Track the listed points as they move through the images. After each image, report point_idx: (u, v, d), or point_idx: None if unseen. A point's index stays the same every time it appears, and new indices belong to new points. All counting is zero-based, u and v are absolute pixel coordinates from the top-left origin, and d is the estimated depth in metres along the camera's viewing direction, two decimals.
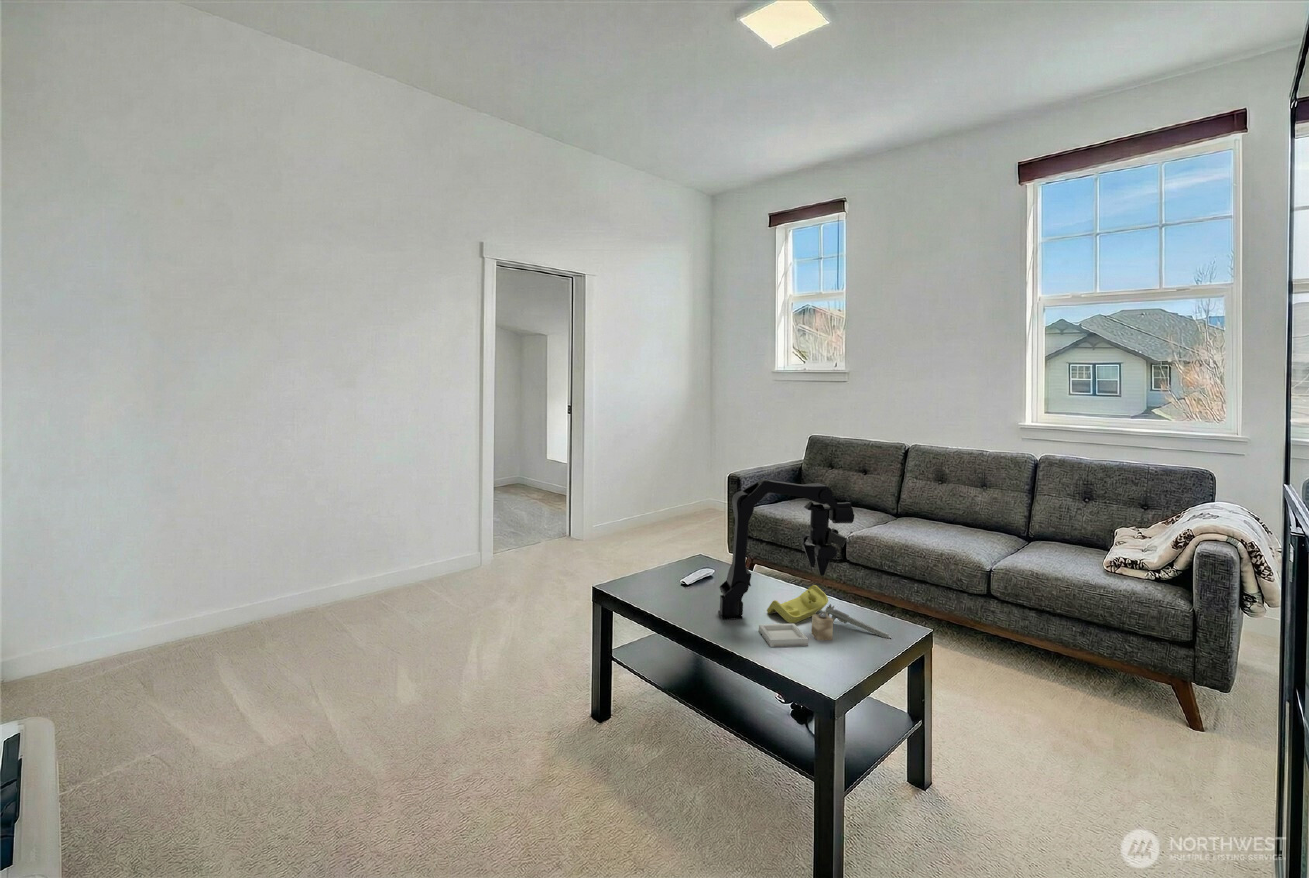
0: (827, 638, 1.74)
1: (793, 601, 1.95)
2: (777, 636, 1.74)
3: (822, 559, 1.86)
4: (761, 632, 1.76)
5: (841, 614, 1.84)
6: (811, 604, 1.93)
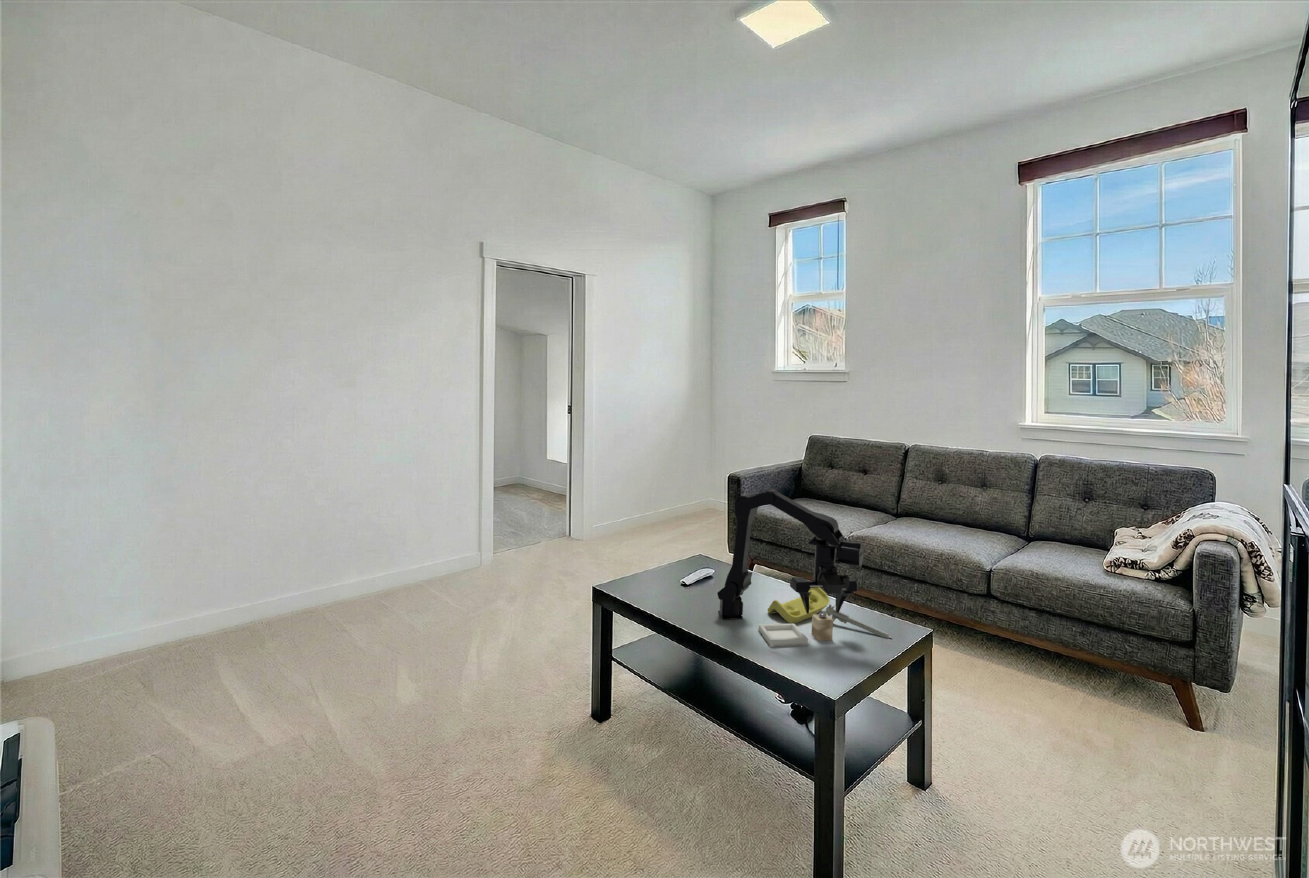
0: (827, 638, 1.74)
1: (794, 601, 1.94)
2: (777, 636, 1.74)
3: None
4: (761, 632, 1.76)
5: (841, 614, 1.84)
6: (812, 604, 1.93)
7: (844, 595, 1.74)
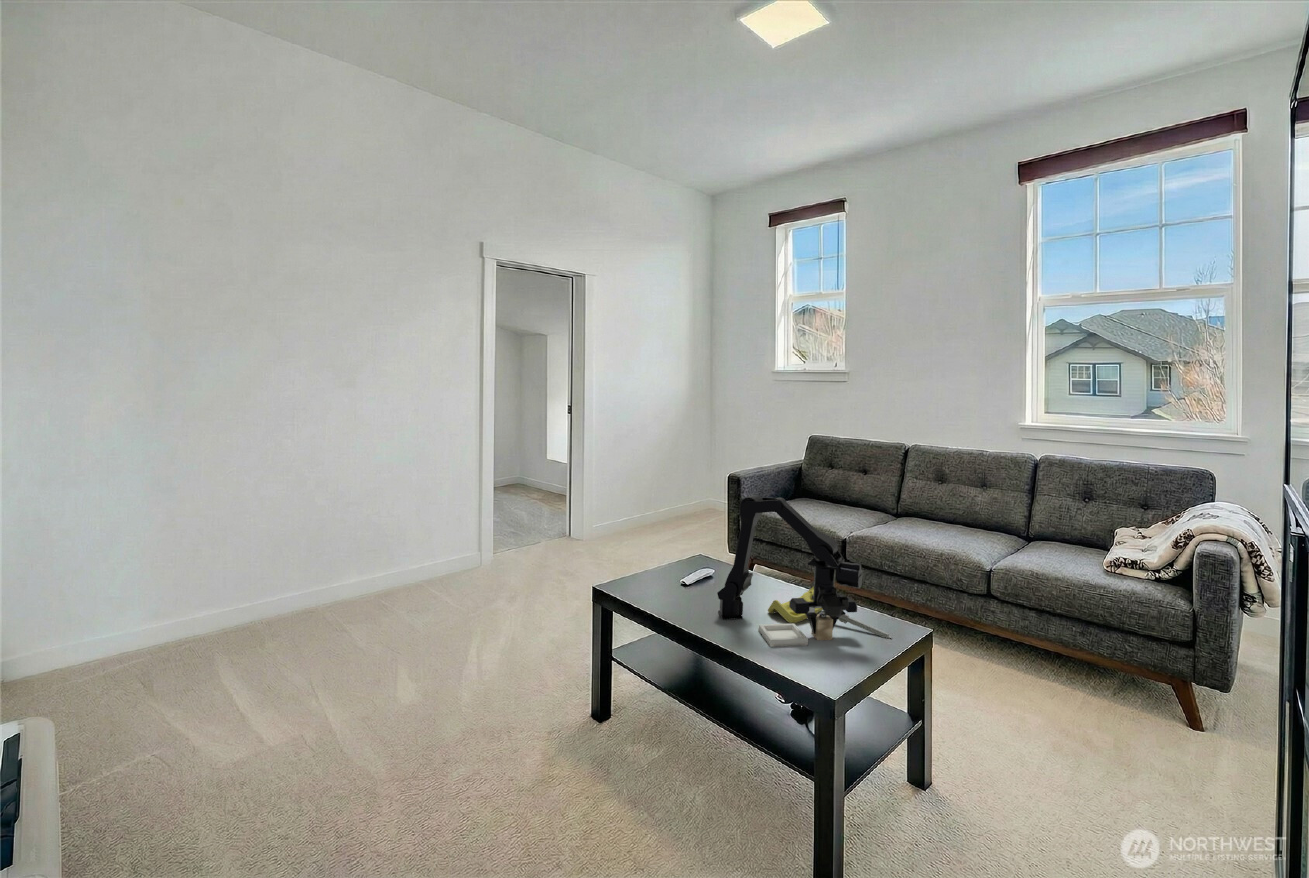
0: (827, 638, 1.74)
1: None
2: (777, 636, 1.74)
3: None
4: (761, 632, 1.76)
5: None
6: None
7: (836, 616, 1.74)
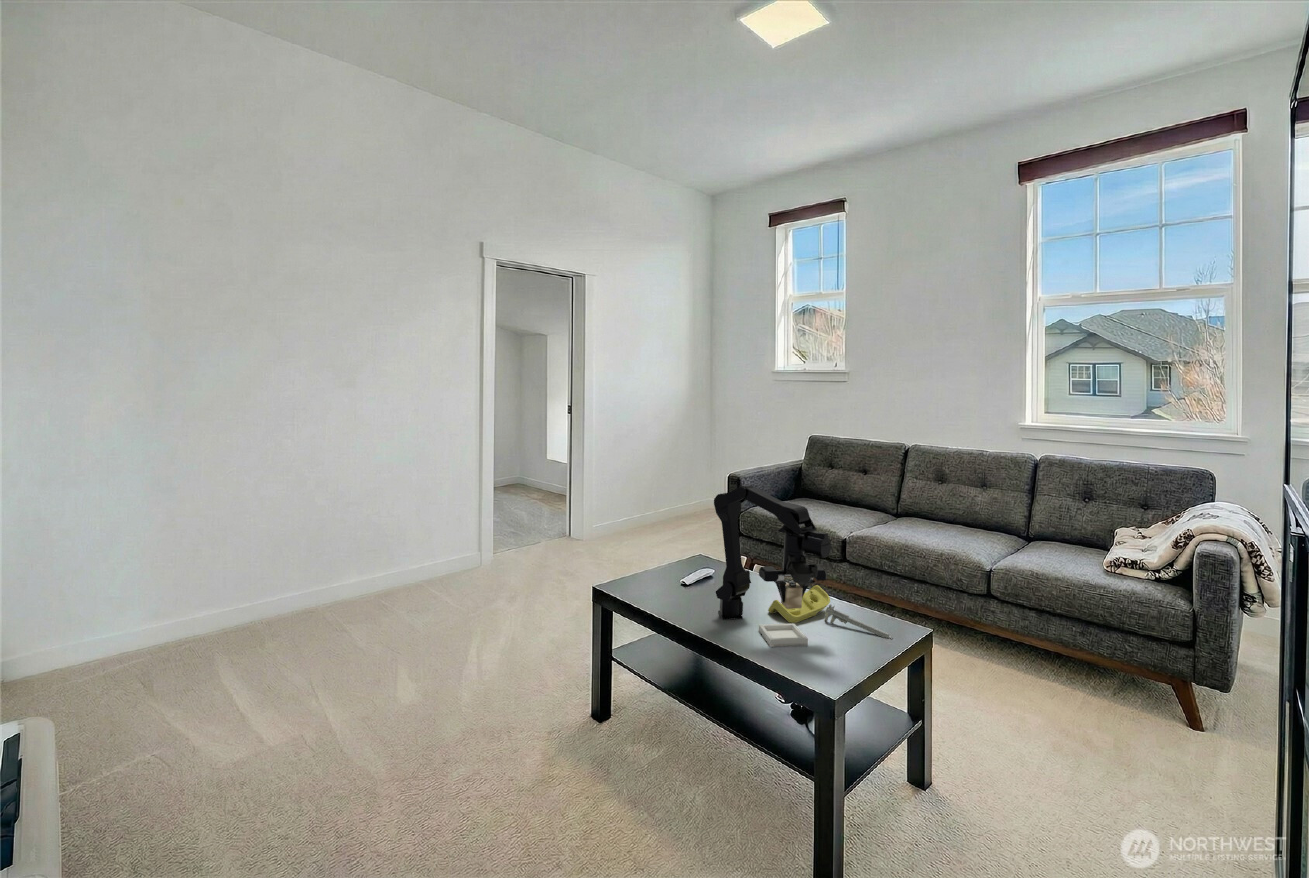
0: (796, 606, 1.72)
1: None
2: (777, 636, 1.74)
3: None
4: (761, 632, 1.76)
5: (841, 614, 1.84)
6: (813, 604, 1.93)
7: (806, 584, 1.72)
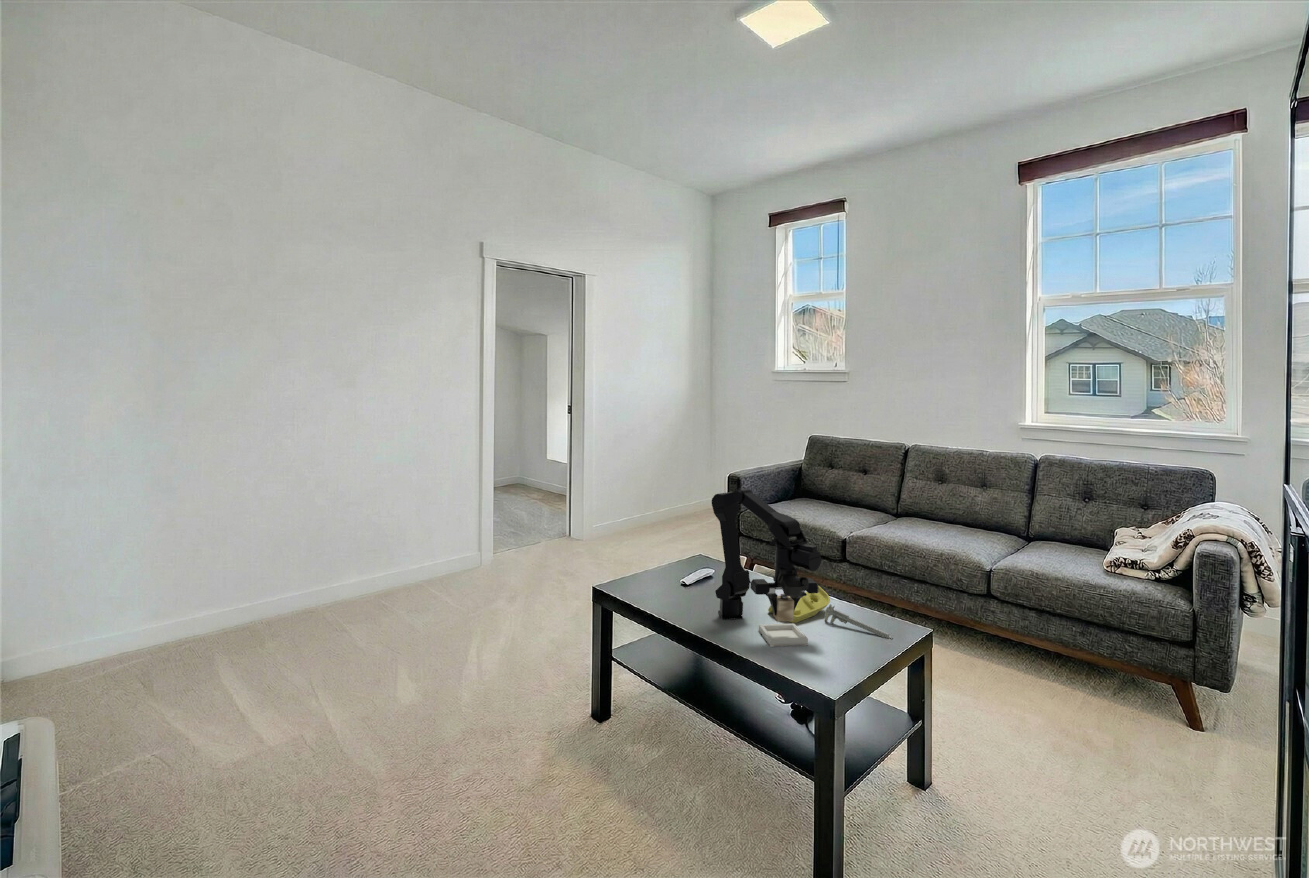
0: (788, 619, 1.72)
1: None
2: (777, 636, 1.74)
3: None
4: (761, 632, 1.76)
5: (841, 614, 1.84)
6: (813, 604, 1.93)
7: (797, 597, 1.72)
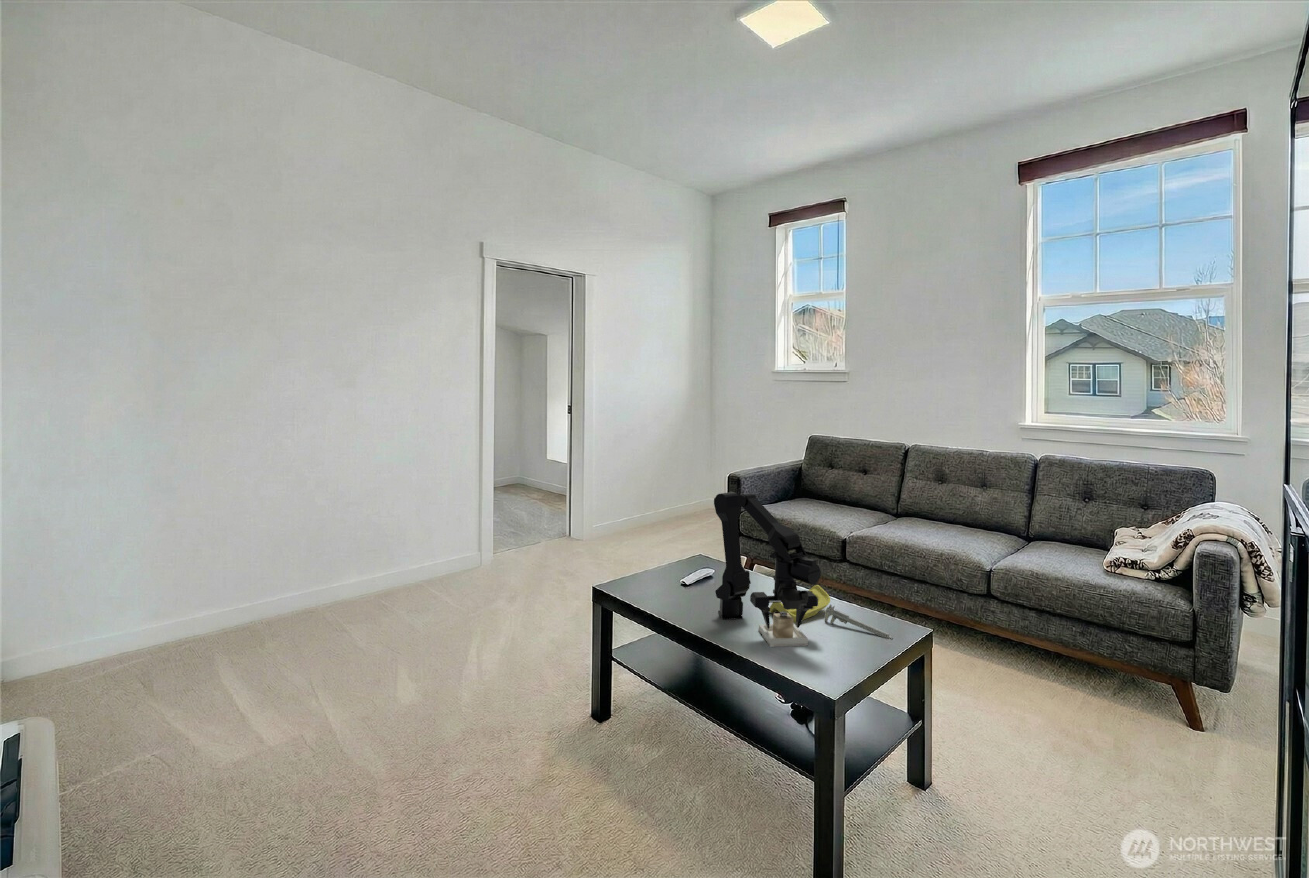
0: (787, 637, 1.72)
1: None
2: None
3: None
4: (761, 632, 1.76)
5: (841, 614, 1.84)
6: None
7: (804, 610, 1.72)
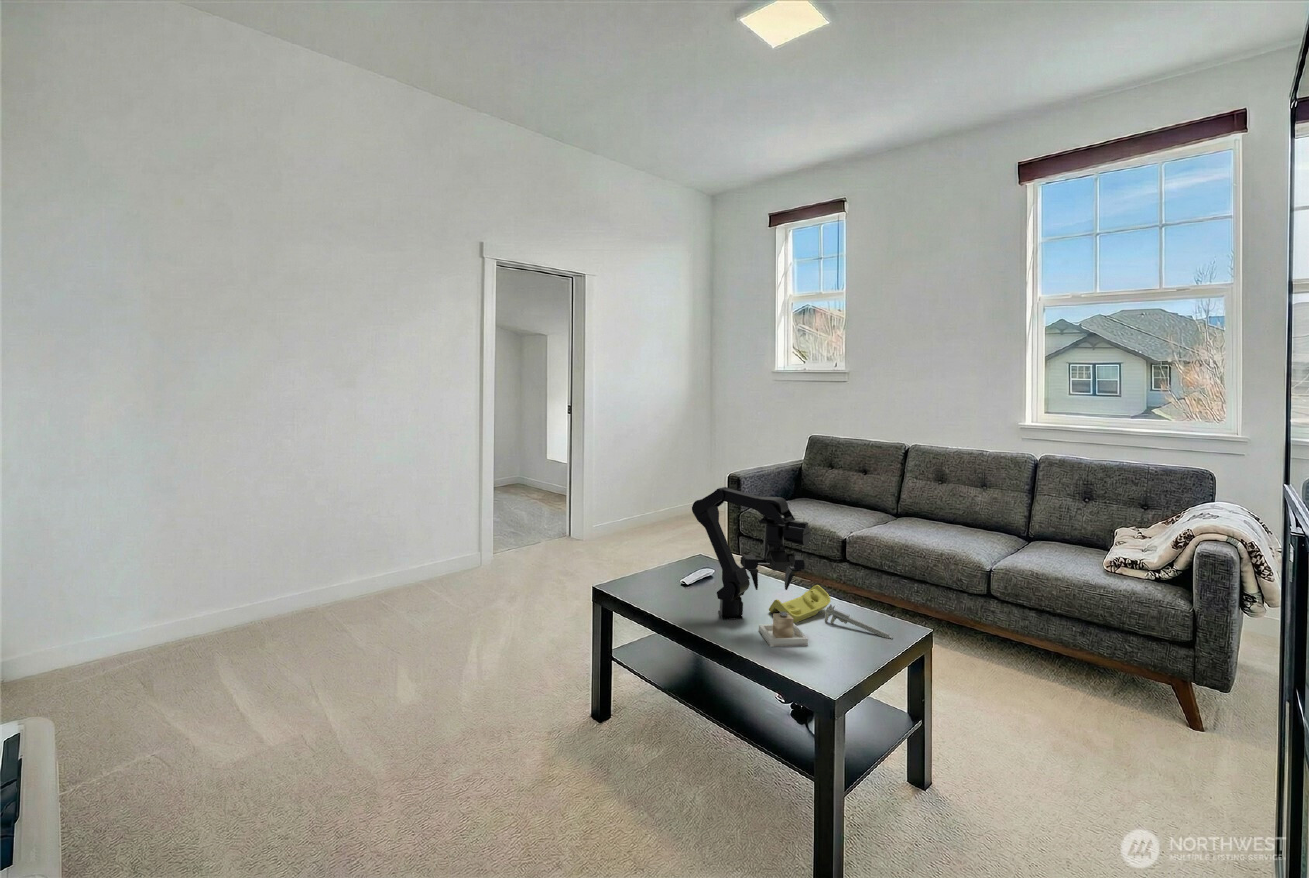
0: (787, 637, 1.72)
1: (795, 600, 1.95)
2: None
3: None
4: (761, 632, 1.76)
5: (842, 614, 1.84)
6: (813, 604, 1.94)
7: (792, 573, 1.80)
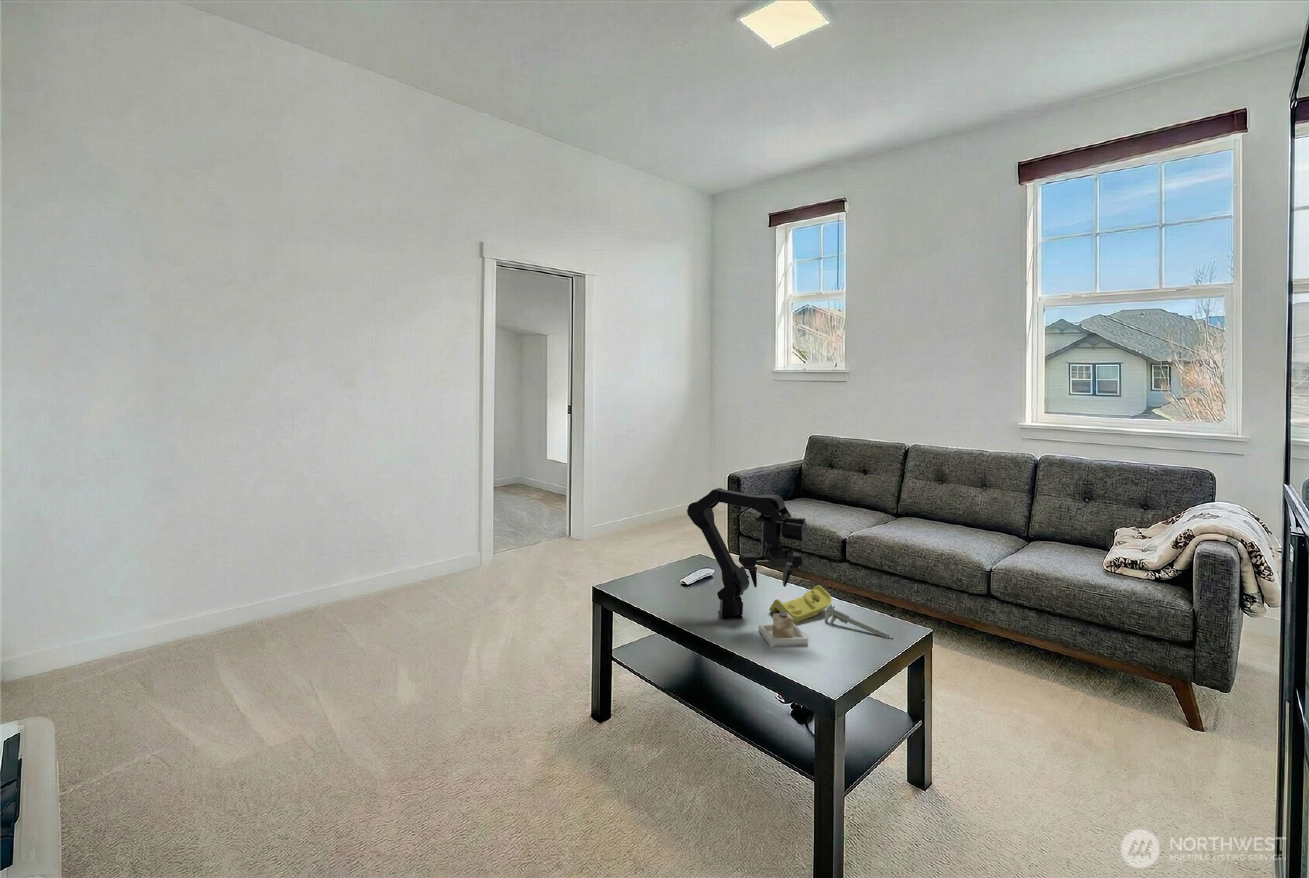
0: (787, 637, 1.72)
1: (796, 600, 1.95)
2: None
3: None
4: (761, 632, 1.76)
5: (842, 614, 1.84)
6: (814, 604, 1.93)
7: (790, 569, 1.81)
